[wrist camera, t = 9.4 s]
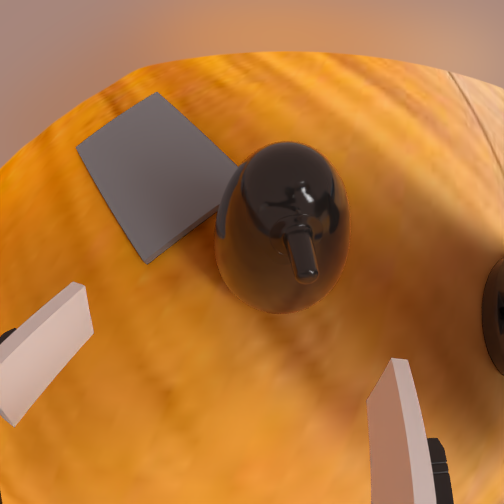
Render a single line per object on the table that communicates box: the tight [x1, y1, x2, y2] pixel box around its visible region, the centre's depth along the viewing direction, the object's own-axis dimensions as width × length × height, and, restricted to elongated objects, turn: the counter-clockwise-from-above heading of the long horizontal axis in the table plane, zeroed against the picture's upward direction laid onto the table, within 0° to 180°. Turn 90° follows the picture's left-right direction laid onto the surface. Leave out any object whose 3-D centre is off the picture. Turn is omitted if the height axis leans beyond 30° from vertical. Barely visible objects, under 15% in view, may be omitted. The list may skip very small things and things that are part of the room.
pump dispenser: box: [214, 141, 351, 314], centre depth 21 cm, size 10×10×15 cm
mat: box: [76, 92, 238, 264], centre depth 32 cm, size 13×20×1 cm, turn 39°
